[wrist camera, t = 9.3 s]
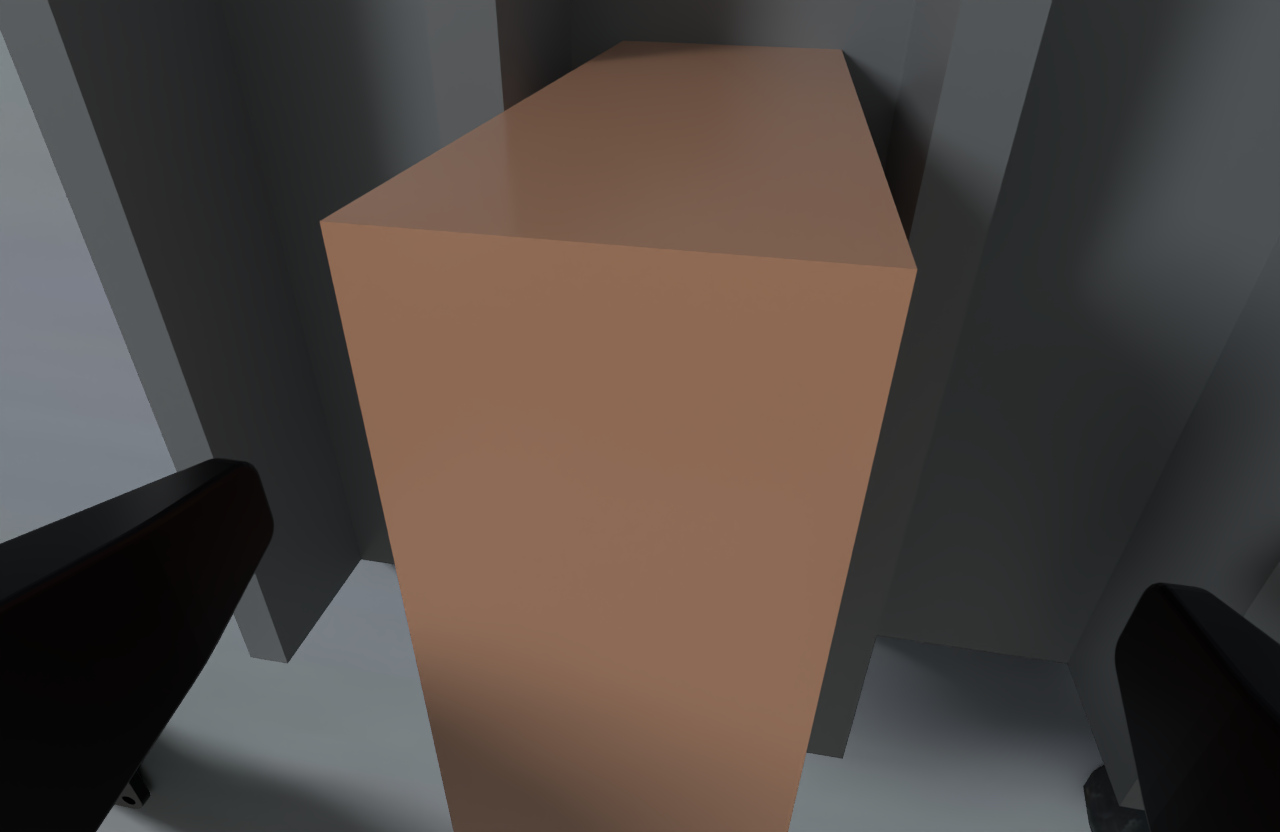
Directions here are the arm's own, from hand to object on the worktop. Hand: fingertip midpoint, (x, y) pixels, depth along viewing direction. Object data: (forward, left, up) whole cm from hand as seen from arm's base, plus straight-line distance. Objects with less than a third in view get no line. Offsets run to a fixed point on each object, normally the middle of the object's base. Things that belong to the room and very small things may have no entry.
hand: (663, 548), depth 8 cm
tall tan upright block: (0, 0, -6) cm, 6 cm away
